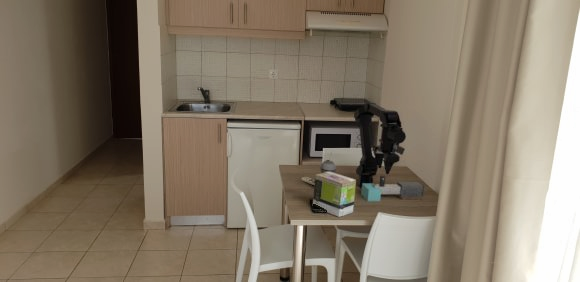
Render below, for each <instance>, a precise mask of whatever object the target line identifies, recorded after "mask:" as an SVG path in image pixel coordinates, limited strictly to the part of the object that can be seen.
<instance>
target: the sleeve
mask: <svg viewBox="0 0 580 282" xmlns="http://www.w3.org/2000/svg"><path fill="white" fill-rule="evenodd" d="M396 184H399V185H401V186H402V188H401V194H396V197H397V198H399V199H400V200H404V201H406V200H407V201H410V200H413V201H414V200H417V201H418V200H419V201H420V200H422V198H423V197H424V191H425V185H424V184H422V183H421V182H420V181H397V183H396Z"/></svg>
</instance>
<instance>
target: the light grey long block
mask: <svg viewBox="0 0 580 282" xmlns="http://www.w3.org/2000/svg"><path fill="white" fill-rule="evenodd" d="M372 186H373V187H374V188H380V189H381V195H397V194H401V188H402V186H401V185H399V184H397V183H394V184H392V183H391V184H389V183H388V184H387V183H386V176H385V175H380V176H379V183H376V184H375V183H374V184H372Z"/></svg>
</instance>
